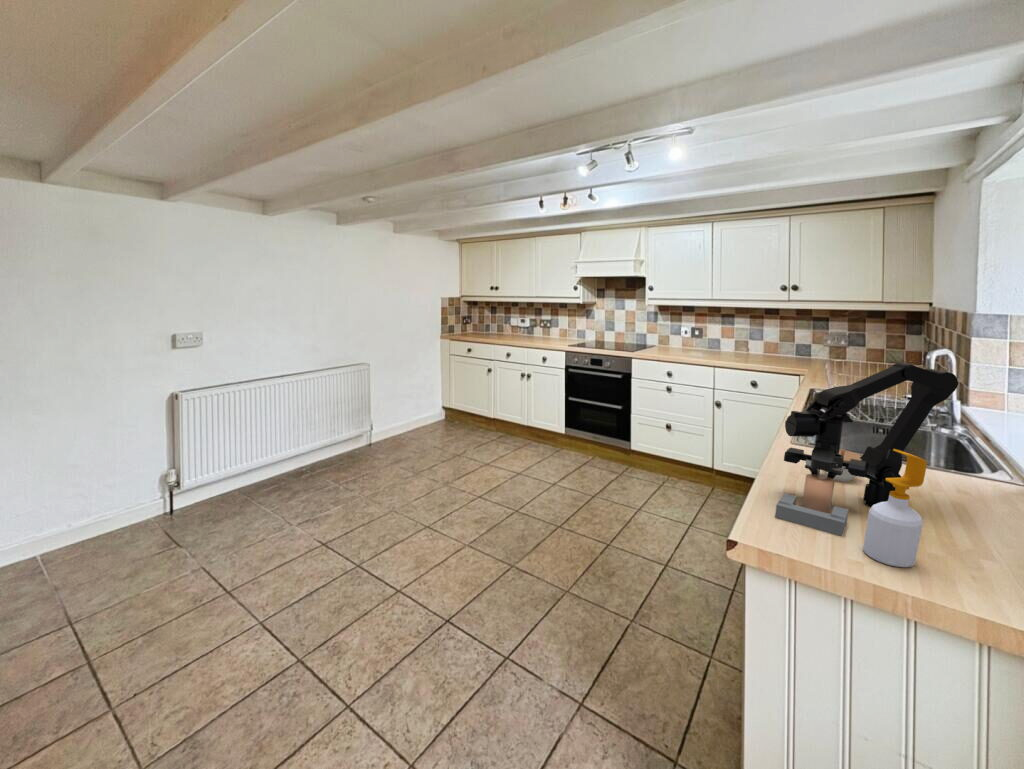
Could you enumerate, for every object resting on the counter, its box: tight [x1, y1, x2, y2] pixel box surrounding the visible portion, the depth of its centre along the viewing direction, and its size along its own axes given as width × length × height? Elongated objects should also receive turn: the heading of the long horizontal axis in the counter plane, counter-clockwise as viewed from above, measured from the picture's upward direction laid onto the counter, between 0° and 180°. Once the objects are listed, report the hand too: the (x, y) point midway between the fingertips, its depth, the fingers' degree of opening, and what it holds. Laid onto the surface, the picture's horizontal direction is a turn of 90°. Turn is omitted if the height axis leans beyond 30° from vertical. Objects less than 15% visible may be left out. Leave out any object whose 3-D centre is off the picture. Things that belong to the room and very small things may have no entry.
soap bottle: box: [862, 449, 928, 568], centre depth 101 cm, size 9×9×25 cm
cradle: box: [774, 492, 849, 537], centre depth 119 cm, size 14×9×4 cm, turn 49°
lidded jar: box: [822, 448, 862, 483], centre depth 145 cm, size 11×11×9 cm
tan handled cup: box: [801, 473, 836, 514], centre depth 125 cm, size 6×10×9 cm, turn 140°
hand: (820, 490), depth 128 cm, fingers closed on tan handled cup
